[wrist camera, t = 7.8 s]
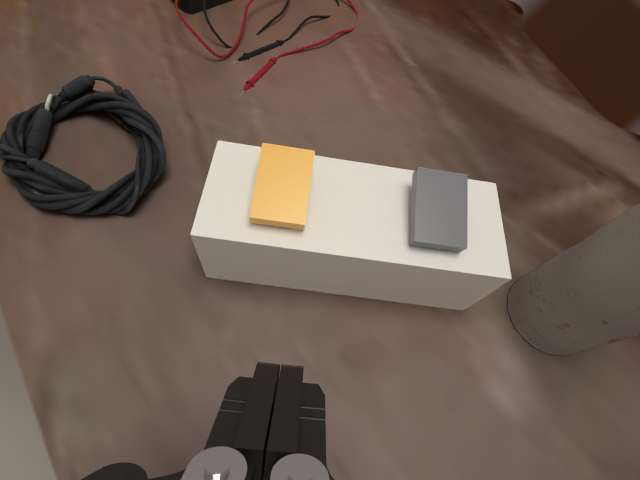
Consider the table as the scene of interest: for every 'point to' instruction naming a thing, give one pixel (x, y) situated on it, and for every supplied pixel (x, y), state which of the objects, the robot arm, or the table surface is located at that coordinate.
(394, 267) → the switch box
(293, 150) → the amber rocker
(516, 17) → the table surface
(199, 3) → the digital clamp meter
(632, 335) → the thermos bottle
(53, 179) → the cable
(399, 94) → the table surface
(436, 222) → the flat grey slab box
